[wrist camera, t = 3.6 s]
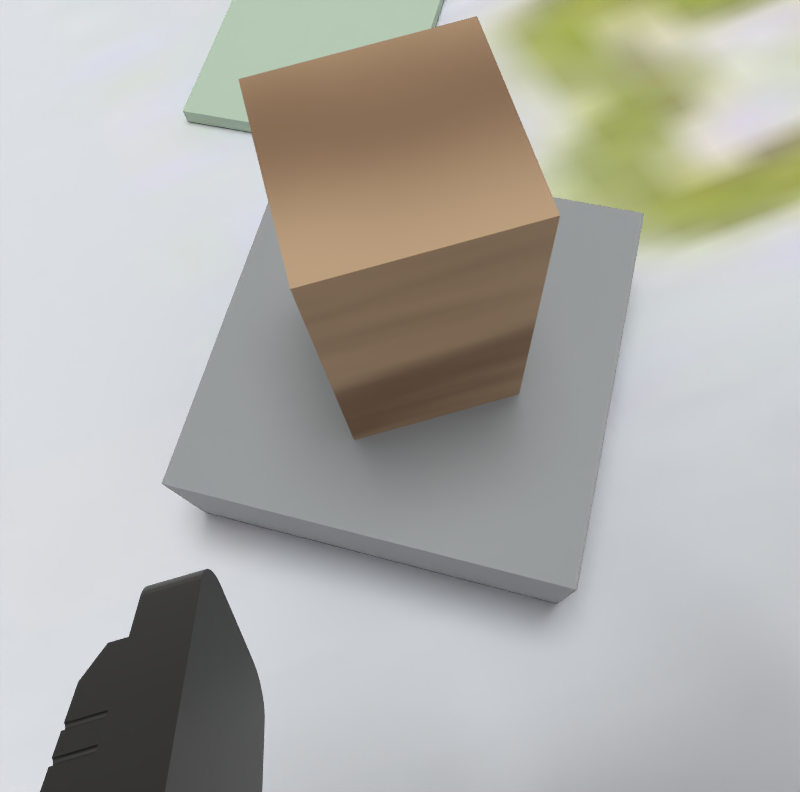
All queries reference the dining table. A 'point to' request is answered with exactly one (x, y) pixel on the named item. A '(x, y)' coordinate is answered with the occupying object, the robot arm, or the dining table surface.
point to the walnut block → (406, 221)
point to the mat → (291, 44)
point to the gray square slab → (420, 429)
